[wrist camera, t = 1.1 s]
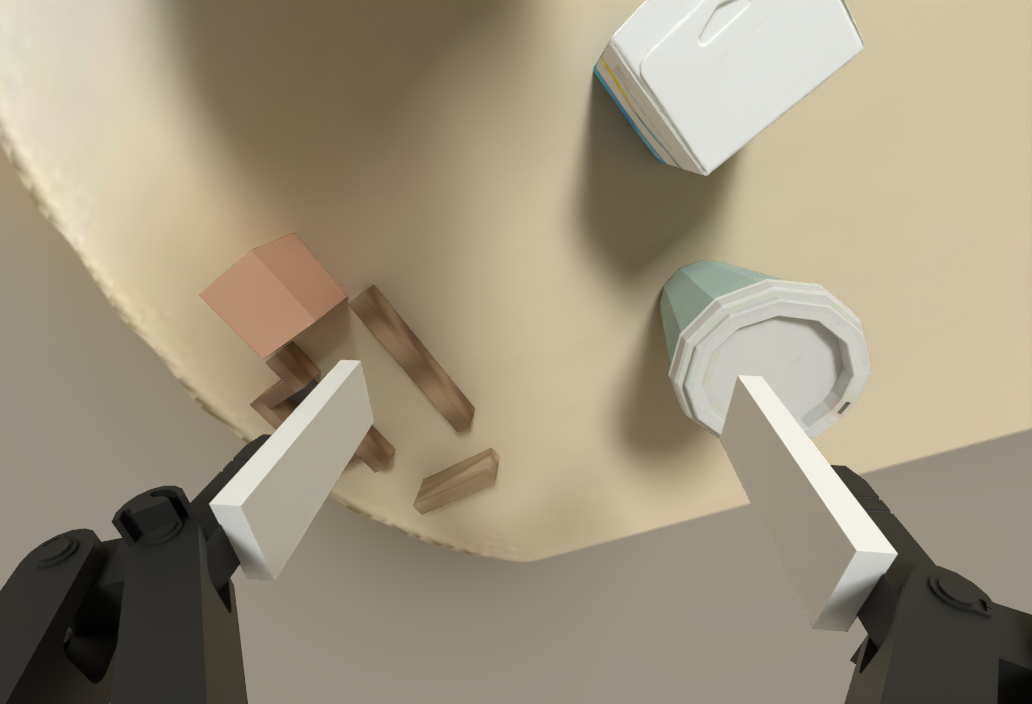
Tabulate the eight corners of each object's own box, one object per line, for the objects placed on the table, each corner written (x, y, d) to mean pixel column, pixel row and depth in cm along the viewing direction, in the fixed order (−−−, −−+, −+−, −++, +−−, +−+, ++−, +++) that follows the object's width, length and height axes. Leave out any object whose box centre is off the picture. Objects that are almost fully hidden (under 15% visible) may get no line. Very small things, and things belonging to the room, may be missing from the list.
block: (246, 273, 40) (198, 295, 35) (294, 232, 38) (251, 249, 33) (299, 330, 43) (262, 359, 38) (348, 295, 41) (316, 321, 35)
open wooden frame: (250, 371, 46) (223, 392, 42) (373, 284, 40) (355, 300, 36) (388, 507, 53) (376, 534, 50) (510, 452, 47) (506, 478, 44)
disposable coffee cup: (616, 324, 39) (643, 424, 26) (675, 209, 34) (747, 261, 21) (721, 363, 40) (799, 480, 27) (794, 256, 35) (936, 336, 22)
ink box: (659, 165, 33) (702, 183, 22) (590, 68, 30) (603, 38, 20) (766, 74, 29) (874, 46, 19) (697, -43, 27) (779, -146, 17)
